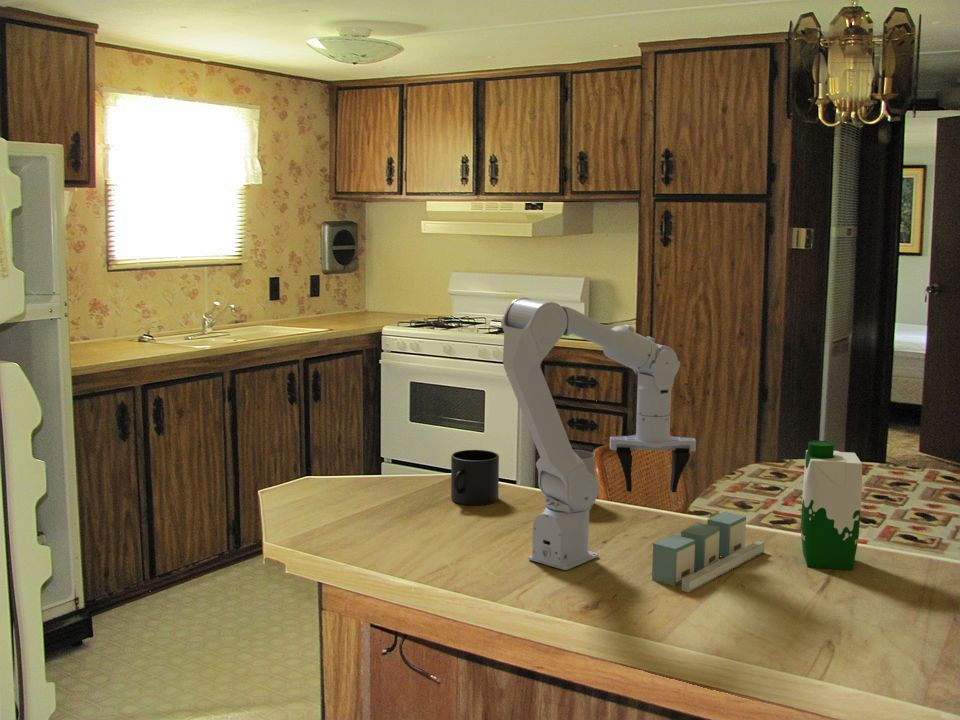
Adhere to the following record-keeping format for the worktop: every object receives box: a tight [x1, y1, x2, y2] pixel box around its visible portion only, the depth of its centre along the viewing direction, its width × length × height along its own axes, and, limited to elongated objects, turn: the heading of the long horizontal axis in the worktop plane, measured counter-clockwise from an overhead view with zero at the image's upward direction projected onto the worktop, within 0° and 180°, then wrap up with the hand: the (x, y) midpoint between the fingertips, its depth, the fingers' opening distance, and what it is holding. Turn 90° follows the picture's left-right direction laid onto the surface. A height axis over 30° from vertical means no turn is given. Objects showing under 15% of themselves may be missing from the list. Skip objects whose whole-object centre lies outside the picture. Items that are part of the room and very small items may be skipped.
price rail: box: [681, 540, 766, 593], centre depth 166 cm, size 25×1×2 cm, turn 138°
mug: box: [450, 449, 500, 507], centre depth 204 cm, size 9×12×9 cm
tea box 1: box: [651, 534, 695, 587], centre depth 163 cm, size 6×4×6 cm
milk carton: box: [800, 440, 863, 571], centre depth 169 cm, size 9×9×20 cm
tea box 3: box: [706, 511, 747, 558], centre depth 175 cm, size 6×4×6 cm
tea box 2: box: [680, 522, 720, 571], centre depth 169 cm, size 6×4×6 cm
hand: (651, 490), depth 178 cm, fingers open, 7 cm apart
